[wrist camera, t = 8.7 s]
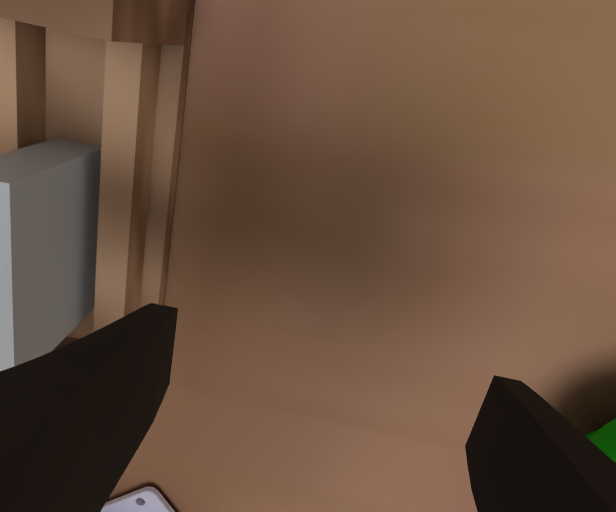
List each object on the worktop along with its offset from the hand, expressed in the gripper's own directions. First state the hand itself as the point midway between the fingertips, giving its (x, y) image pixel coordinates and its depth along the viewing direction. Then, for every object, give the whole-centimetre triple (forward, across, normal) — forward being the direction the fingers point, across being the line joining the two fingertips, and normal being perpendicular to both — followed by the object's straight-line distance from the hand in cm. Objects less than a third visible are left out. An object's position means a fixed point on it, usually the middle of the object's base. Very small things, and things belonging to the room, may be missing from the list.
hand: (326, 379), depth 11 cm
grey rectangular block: (+10, +10, +2) cm, 14 cm away
